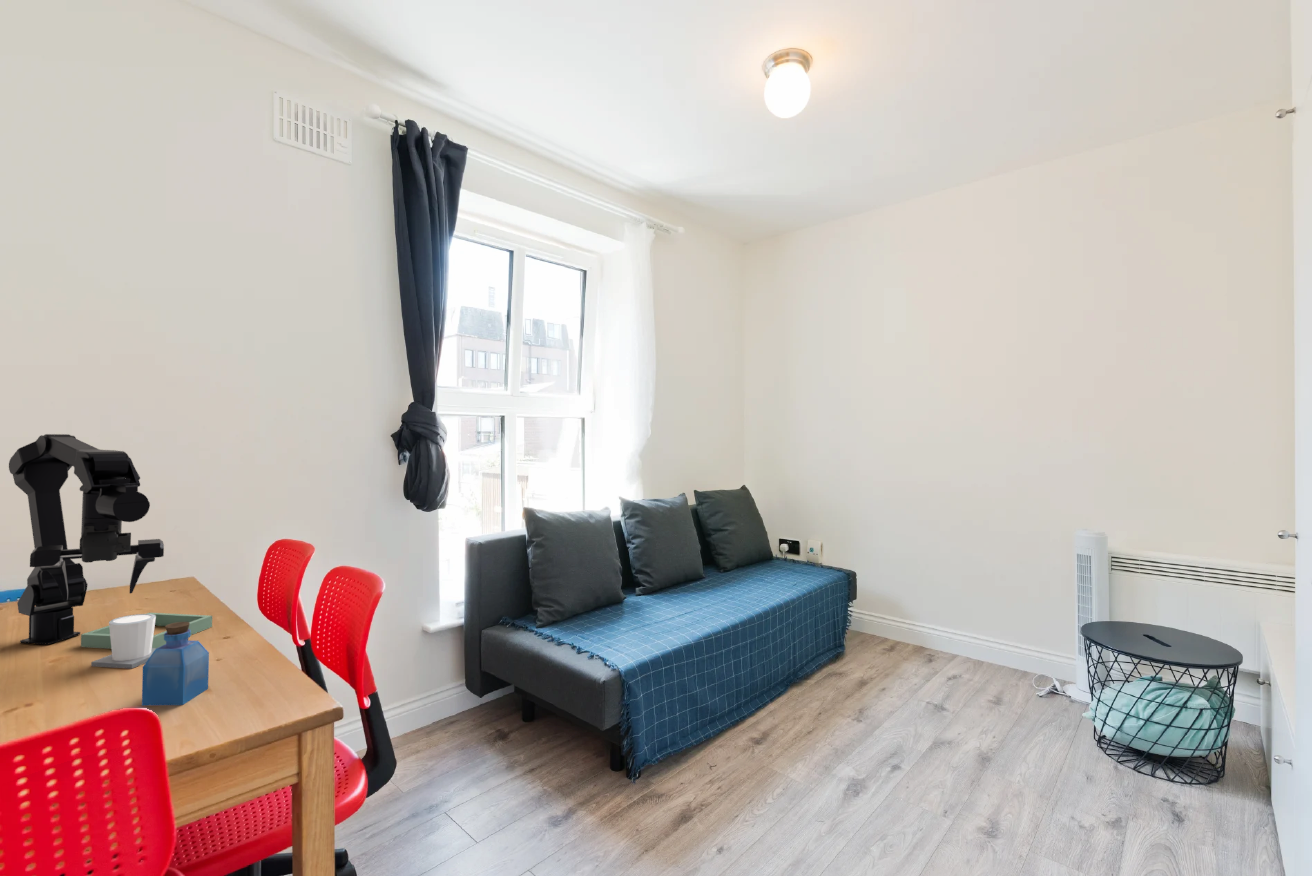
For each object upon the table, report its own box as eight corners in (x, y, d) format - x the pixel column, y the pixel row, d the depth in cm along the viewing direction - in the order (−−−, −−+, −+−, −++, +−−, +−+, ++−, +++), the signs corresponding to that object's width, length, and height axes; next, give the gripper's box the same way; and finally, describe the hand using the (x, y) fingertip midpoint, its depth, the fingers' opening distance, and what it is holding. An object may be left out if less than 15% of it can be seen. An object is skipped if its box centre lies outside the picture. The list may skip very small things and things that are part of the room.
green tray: (80, 646, 121) (81, 634, 121) (149, 623, 136) (149, 612, 136) (150, 650, 119) (151, 638, 119) (212, 626, 134) (212, 615, 134)
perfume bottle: (169, 689, 103) (171, 619, 103) (208, 688, 103) (209, 619, 103) (141, 705, 97) (143, 630, 96) (183, 705, 97) (184, 630, 97)
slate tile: (91, 666, 111) (91, 662, 111) (132, 650, 119) (132, 646, 119) (131, 668, 111) (131, 664, 111) (169, 653, 119) (170, 648, 119)
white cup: (126, 663, 111) (127, 625, 111) (97, 659, 112) (98, 622, 112) (164, 650, 118) (165, 615, 118) (136, 647, 119) (137, 611, 119)
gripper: (27, 526, 104) (24, 615, 104) (166, 519, 116) (163, 599, 117) (34, 516, 113) (32, 599, 113) (163, 511, 125) (160, 586, 125)
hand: (99, 596), depth 117 cm, fingers open, 9 cm apart
